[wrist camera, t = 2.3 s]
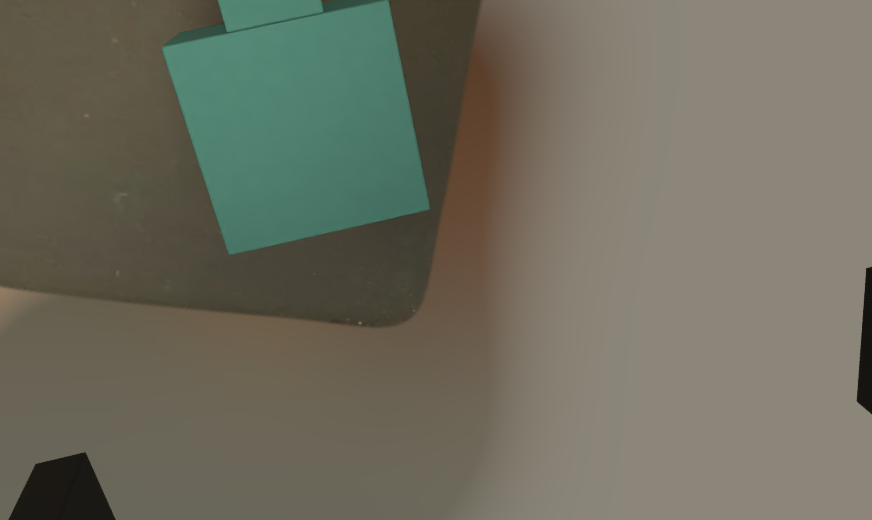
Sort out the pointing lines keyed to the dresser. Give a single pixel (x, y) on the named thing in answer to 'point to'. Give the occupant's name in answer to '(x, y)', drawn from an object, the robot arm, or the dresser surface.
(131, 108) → the dresser surface
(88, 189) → the dresser surface
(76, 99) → the dresser surface
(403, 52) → the dresser surface
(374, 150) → the teal tabbed block
